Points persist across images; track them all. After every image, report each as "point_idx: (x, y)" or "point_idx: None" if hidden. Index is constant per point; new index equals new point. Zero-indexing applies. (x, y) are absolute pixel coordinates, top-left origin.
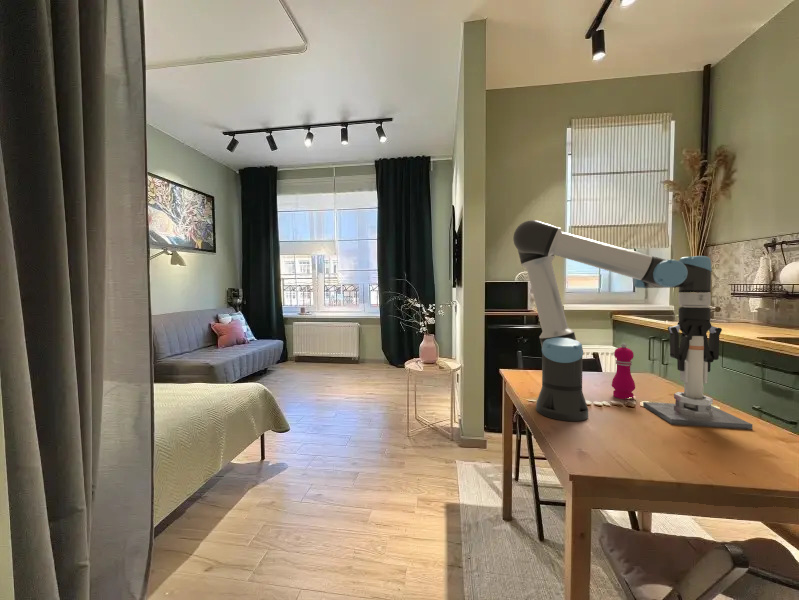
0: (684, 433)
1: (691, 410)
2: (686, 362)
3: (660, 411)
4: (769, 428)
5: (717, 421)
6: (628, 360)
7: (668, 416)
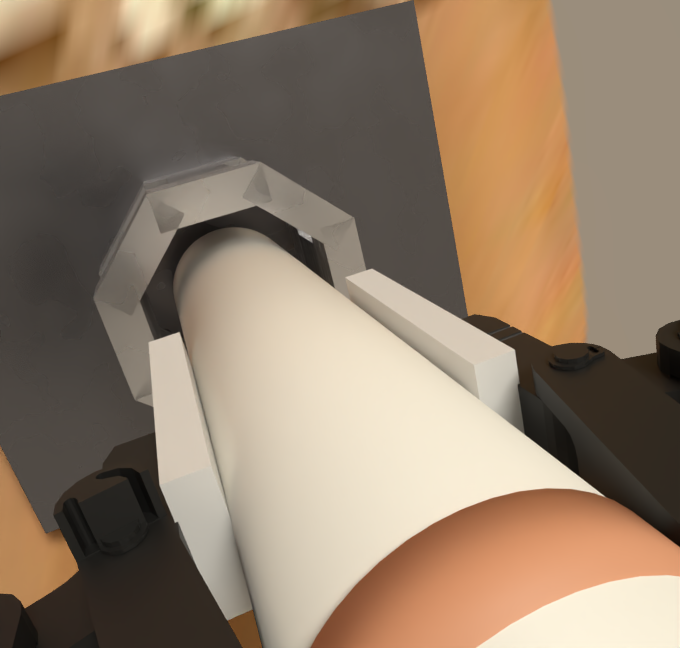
0: None
1: None
2: (226, 603)
3: None
4: (550, 284)
5: None
6: None
7: (33, 482)
